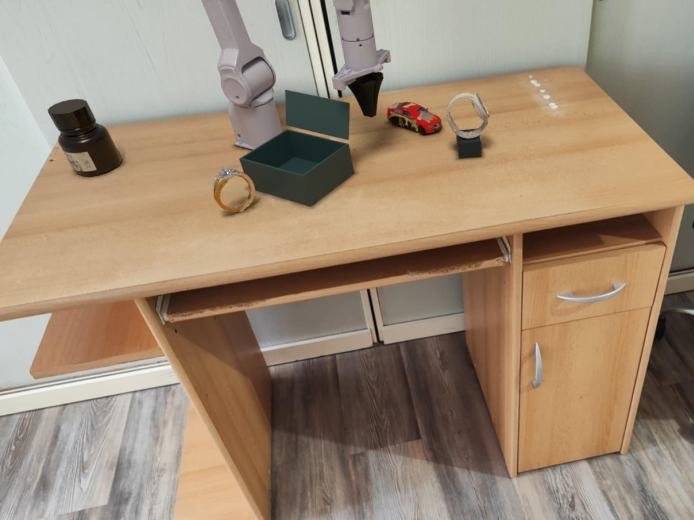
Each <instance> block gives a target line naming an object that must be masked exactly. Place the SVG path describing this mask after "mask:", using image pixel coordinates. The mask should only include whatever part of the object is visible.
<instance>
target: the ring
mask: <svg viewBox="0 0 694 520" xmlns="http://www.w3.org/2000/svg"><path fill="white" fill-rule="evenodd" d="M235 177H239V178H241V179H243V180H244V181H245V182H246V183H247V186H248V191H249V192H248V196H247V198H246V200H245V201H243V203H238V204H236V206H228V205H225V204H224V203H223V202H222V200H221V193H222V190H223V188H224V187H225V185H226V184H227V183H228V182H229V180H230V179H232V178H235ZM220 180H221V181H220ZM255 194H256V190H255V187H254V184H253V182H252V180H251V179H250V177H249V176H247V175H246V174H245V173H244V172H243V171H239V170H238V166H230V167H229V166H226V168H225V167H221V170H220V171H219V172H218V173H217V174H216V175H215V177H214V179H213V182H212V196H213V199H214V201H215V202H216V203H217V205H218V206H219V207H220V208H221V209H222V210H224V211H226V212H229V213H236V212H237V213H238V212H240V213H242V212H244V211H245V209H247V208H248V207H249V206H250V205H251V204H252V203H253V201H254V198H255V196H256V195H255Z"/></svg>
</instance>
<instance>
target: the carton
mask: <svg viewBox="0 0 694 520" xmlns="http://www.w3.org/2000/svg"><path fill="white" fill-rule="evenodd" d="M238 160H239V162H240V165H241V168H242V172H243V173H245V174H246V175H247V176H249V177H250V179H251V180H252V182H253V184H254V187H255V191H257V192H260V193H264V194H267V195H269V196H274V197H277V198H281V199H284V200H287V201H290V202H293V203H298V204H301V205H304V206H307V207H313V206H314V205H315V204H316V203H318V202H319V201H320V200H322V199H323V198H324V197H326V196H327V195H328V194H330V193H331V192H332V191H333V190H335V189H336V188H338V187H339V186H340V185H341V184H342V183H344V182H345V181H346V180H348V179H349V178H351V177H352V176H353V175H354V174H355V168H354V164H353V158H352V154H351V147H350V143H347V142H343V141H339V140H335V139H331V138H328V137H327V138H326V137H322V136H319V135H315V134H310V133H306V132H301V131H297V130H293V129H288V128H286V129H284V130H283V132H281V133H280V134H278V135H276V136H275V137H273V138H272V139H270V140H268V141H267V142H265V143H263V144H262V145H260V146H259V147H257V148H255V149H254V150H252V149H251V150H250V151H249V152H248V153H246V154H244V155H243V156H241V157H240V158H238Z"/></svg>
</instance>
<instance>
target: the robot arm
mask: <svg viewBox="0 0 694 520" xmlns="http://www.w3.org/2000/svg"><path fill="white" fill-rule="evenodd" d="M201 3H202V5H203V8H204V10H205V12H206V16H207V17H208V20H209V22H210V25H211V27H212V30H213V32H214V34H215V37H216V39H217V42H218V44H219V46H220V49H221V52H220V55H219V58H218V61H217V66H216V68H217V70H218V73H219V76H220V86H221V90H222V93H223V94H224V95H225V97H226V98H227V99H228V104H227V115H228V117H229V120H230V123H231V127H232V129H233V132H234V135H235V138H236V141H235V142H234V145H235V146H237V147H240V148H245V149H249V150H251V151H252V150H254V149H255V148H257V147H259V146H260V145H262V144H263V143H265V142H267V141H268V140H270V139H272V138H273V137H275V136H276V135H278V134H280V133H281V132H283V131H284V130H283V127H282V124H281V123H282V122H281V120H280V116H279V113H278V109H277V105H276V102H275V97H274V93H275V91H274V86H275V84H276V82H277V75H276V72H275V69H274V67H273V65H272V63H271V62H270V61H269V60H268V58H267V57H266V55H265V53H264V49H263V48H261V46H258V45H256V44H255V43H253V42H252V41H251V38H250V36H249V33H248V30H247V28H246V25H245V22H244V20H243V17H242V14H241V12H240V10H239V6H238V4H237V1H236V0H201ZM332 4H333V6H334V9H335V15H336V20H337V21H336V22H337V26H338V32H339V37H340V43H341V49H342V55H343V60H344V64H343V65H342V66H341V67H340V69H339V71H337V73H336V74H335V75H333V76H331V83H332V88H333V90H335V91H336V90H337V91H345V90H346V89H347V88H348V89H349V90H350V91H351V93H352V94H353V96H354V98H355V99H356V102H357V104H358V105H359V106H358V107H359V108H360V111H361V113H362V115H363V117H367V118H372V119H373V118H374V117H375V116H377V111H378V102H379V94H380V89H381V86H382V83H383V82H384V73H383V72H382V71H383V70H384V64H385V63H386V64H389V63H391V62H392V57H391V51H390V49H385V48H380V49H377V43H376V35H375V29H374V21H373V14H372V8H371V1H370V0H332Z"/></svg>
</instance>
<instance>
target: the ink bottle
mask: <svg viewBox="0 0 694 520" xmlns="http://www.w3.org/2000/svg"><path fill="white" fill-rule="evenodd" d="M47 113H48V115H49V117H50V118H51V121H52V122H53V125H54V126H55V128H56V129H57V131H58V132H59V136H58V138H57V142H58V145H59V146H60V148H61V150H62V152H63V153H64V155H65V157H66V159H67V160H68V163H69V164H70V166H71V167H72V170H73V171H74V172H75V173H76V174H78V175H80V176H87V177H90V176H98V175H102V174H103V173H106V172H109V171H111V170H113V169H115V168H117V167H118V166H119V165H120V164H121V162H122V156H121V155H120V151H119V150H118V148H117V146H116V144H115V142H114V140H113V138H112V136H111V133H110V132H109V130H108V129H107V128H106V127H105V126H104V125H102V124H99V123H98V122H97V120H96V119H97V118H96V117H95V115H94V112H93V111H92V109H91V107H90V104H89V103H88V101H87V100H86V99H83V98H72V99H71V98H70V99H66V100H62V101H59V102H56V103H54V104H53V105H51V106H49V108H47Z"/></svg>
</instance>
